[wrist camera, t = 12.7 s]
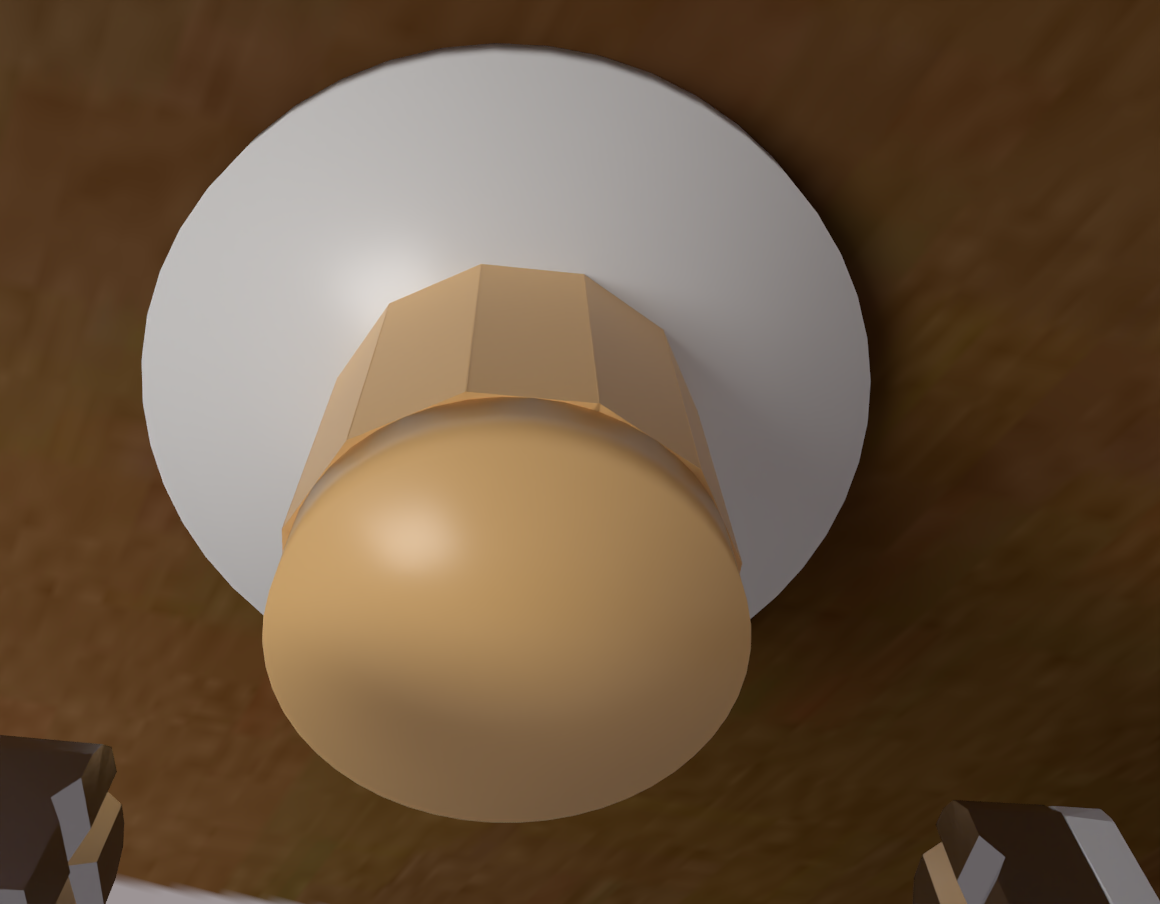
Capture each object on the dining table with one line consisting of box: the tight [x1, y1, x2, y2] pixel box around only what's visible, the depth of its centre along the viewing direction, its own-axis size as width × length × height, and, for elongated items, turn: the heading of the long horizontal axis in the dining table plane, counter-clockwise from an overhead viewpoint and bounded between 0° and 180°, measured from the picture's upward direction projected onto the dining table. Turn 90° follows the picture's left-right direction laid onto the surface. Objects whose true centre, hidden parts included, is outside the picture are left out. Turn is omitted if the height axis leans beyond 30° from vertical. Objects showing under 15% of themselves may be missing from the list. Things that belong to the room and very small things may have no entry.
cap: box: [262, 264, 751, 823], centre depth 15 cm, size 6×6×6 cm
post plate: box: [142, 43, 871, 619], centre depth 16 cm, size 12×12×4 cm
